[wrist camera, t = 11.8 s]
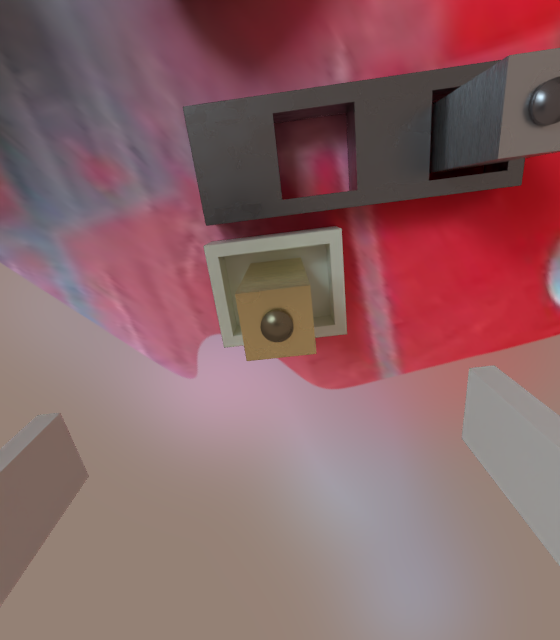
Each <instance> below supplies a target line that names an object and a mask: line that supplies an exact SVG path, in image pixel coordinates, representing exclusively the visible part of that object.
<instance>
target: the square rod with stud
mask: <svg viewBox="0 0 560 640" xmlns="http://www.w3.org/2000/svg"><path fill="white" fill-rule="evenodd" d="M556 152H560V48H556V49H549V50H542V51H535V52H529V53H522V54H515V55H509V56H507V57H506V58H504V59H503V60H501V61H500V62H498V63H496V64H495V65H493V66H492V67H490V68H489V69H487V70H486V71H484V72H482V73H481V74H479V75H478V76H476V77H475V78H473V79H472V80H470V81H469V82H467V83H465V84H464V85H462V86H461V87H459V88H458V89H456V90H455V91H453V92H451V93H450V94H448V95H447V96H445V97H444V98H442V99H441V100H439V101H438V102H436V103H434V104H433V105H432V114H431V140H430V166H429V173H434V172H441V171H449V170H456V169H464V168H471V167H478V166H484V165H489V164H495V163H500V162H506V161H512V160H517V159H523V158H528V157H534V156H539V155H545V154H550V153H556Z"/></svg>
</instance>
